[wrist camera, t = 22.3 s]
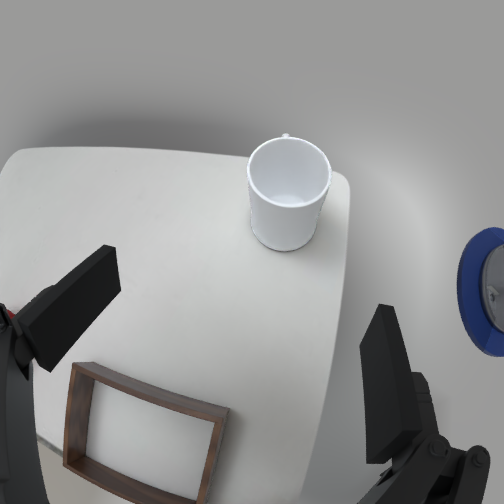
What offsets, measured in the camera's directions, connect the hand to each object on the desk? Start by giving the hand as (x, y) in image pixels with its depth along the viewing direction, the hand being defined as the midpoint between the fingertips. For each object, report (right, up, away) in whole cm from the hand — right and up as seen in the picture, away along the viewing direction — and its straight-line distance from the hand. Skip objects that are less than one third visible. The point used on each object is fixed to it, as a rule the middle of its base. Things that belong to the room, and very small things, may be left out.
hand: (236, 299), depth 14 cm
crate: (-13, -22, +17) cm, 31 cm away
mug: (+5, +8, +25) cm, 27 cm away
